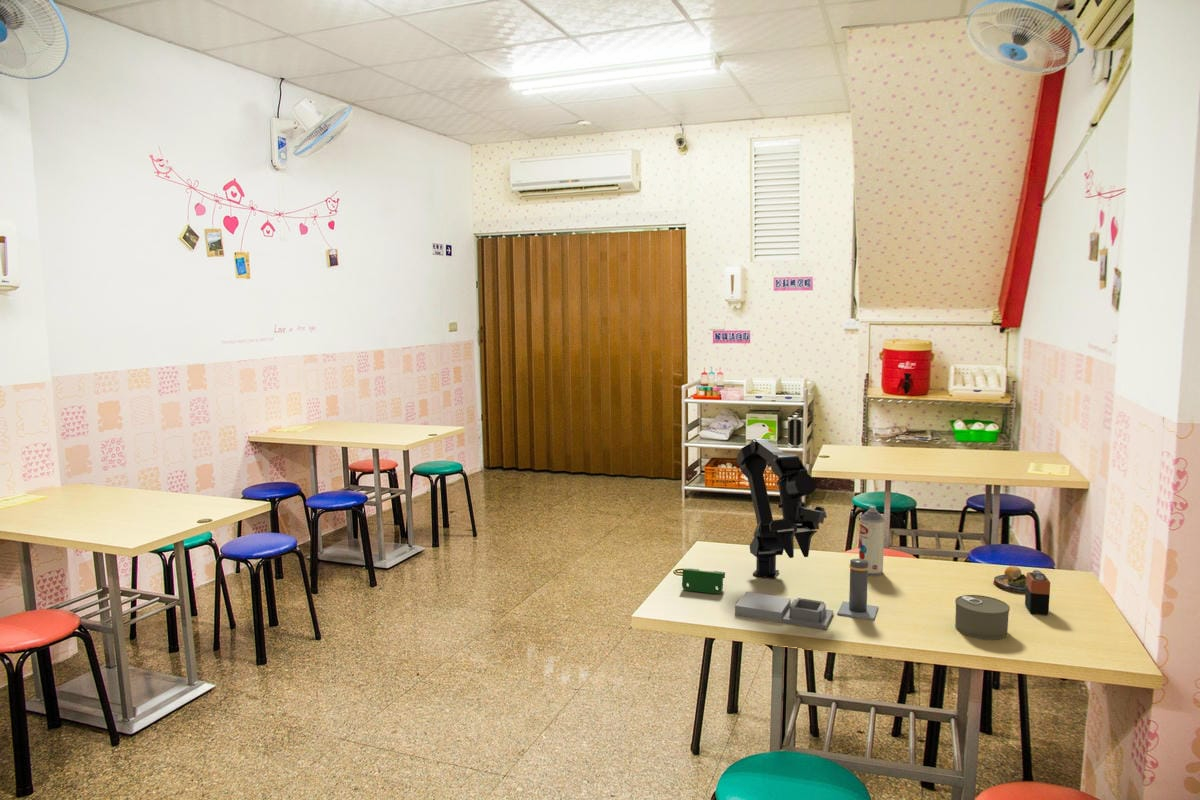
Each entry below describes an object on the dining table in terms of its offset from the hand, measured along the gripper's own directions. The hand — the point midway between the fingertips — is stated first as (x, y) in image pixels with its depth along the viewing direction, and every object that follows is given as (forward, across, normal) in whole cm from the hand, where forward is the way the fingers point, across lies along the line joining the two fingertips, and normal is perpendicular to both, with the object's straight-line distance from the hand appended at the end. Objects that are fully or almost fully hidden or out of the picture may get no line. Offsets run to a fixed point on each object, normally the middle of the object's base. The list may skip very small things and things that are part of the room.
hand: (798, 557), depth 214 cm
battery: (+19, +34, -48) cm, 62 cm away
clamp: (+7, -6, +28) cm, 29 cm away
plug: (+14, +5, -12) cm, 20 cm away
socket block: (+14, -9, +2) cm, 17 cm away
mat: (+15, +5, -12) cm, 20 cm away
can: (+22, +12, -40) cm, 47 cm away
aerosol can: (+6, +37, -5) cm, 38 cm away
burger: (+13, +50, -42) cm, 66 cm away
